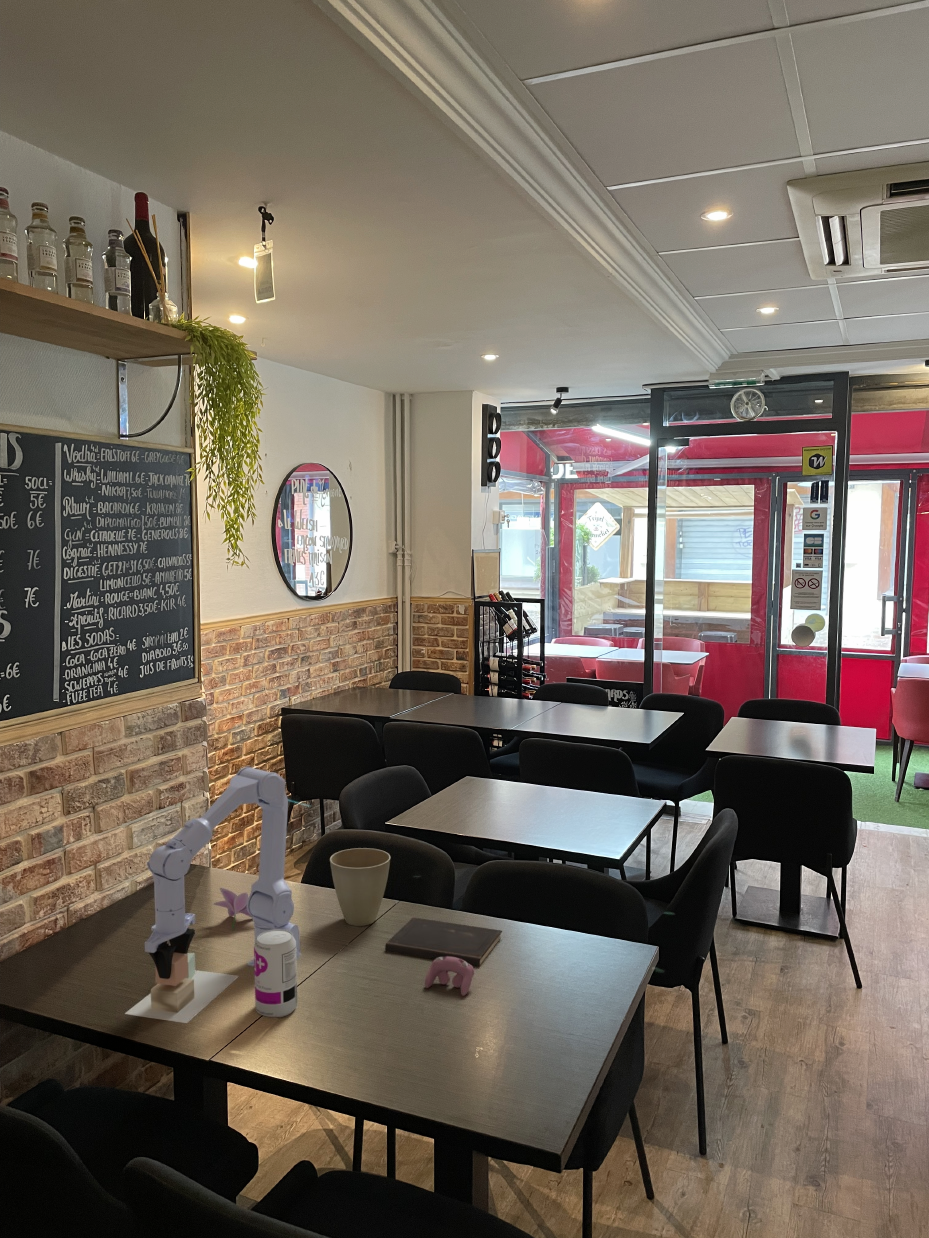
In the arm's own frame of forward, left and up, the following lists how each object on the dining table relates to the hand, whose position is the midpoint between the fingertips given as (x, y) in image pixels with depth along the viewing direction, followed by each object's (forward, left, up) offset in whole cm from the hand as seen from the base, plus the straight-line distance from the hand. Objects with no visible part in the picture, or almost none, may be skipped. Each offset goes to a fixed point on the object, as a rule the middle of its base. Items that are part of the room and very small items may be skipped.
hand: (172, 971), depth 181 cm
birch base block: (0, 0, -7) cm, 7 cm away
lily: (+8, -40, -7) cm, 41 cm away
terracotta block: (0, 0, -2) cm, 2 cm away
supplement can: (-21, -4, -7) cm, 23 cm away
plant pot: (-21, -49, -7) cm, 54 cm away
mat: (0, -4, -7) cm, 8 cm away
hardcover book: (-45, -41, -8) cm, 61 cm away
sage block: (+5, -10, -7) cm, 13 cm away
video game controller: (-52, -22, -7) cm, 57 cm away
